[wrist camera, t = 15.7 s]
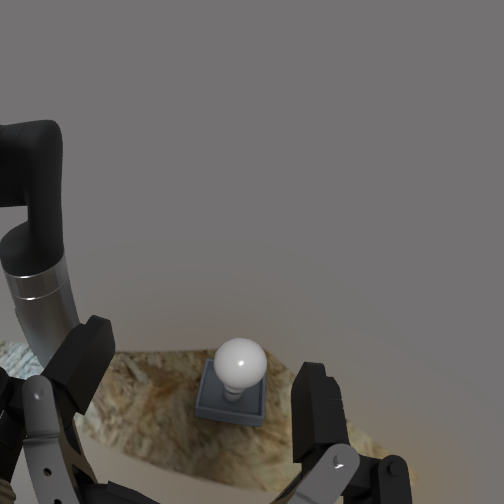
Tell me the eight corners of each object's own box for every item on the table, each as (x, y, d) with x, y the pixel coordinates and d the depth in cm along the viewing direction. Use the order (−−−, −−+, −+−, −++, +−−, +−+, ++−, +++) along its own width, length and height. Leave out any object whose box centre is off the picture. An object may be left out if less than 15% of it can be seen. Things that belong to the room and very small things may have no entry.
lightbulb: (258, 386, 36) (276, 335, 31) (248, 421, 31) (266, 374, 26) (217, 373, 37) (226, 320, 32) (202, 406, 32) (207, 356, 27)
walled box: (194, 416, 30) (194, 407, 29) (205, 368, 38) (206, 357, 37) (260, 426, 31) (264, 418, 29) (262, 378, 38) (266, 368, 37)
